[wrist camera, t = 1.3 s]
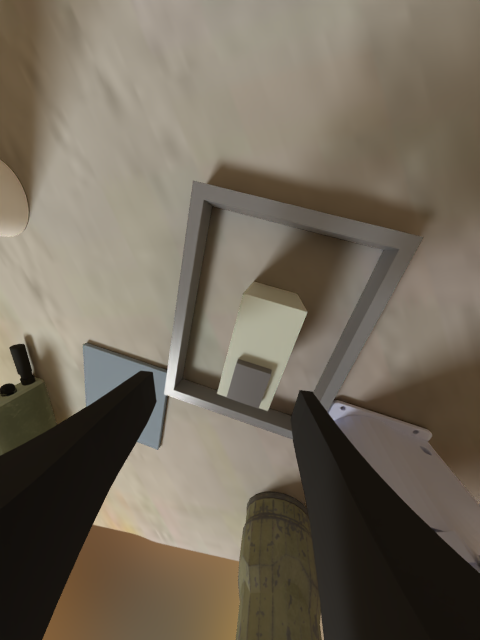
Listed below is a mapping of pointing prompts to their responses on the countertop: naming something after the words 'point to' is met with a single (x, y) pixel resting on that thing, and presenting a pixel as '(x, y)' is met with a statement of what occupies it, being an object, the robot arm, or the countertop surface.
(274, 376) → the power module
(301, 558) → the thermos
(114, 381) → the rubber mat
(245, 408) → the gray rectangular frame
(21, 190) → the cylindrical container
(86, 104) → the countertop surface
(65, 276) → the countertop surface
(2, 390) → the handheld radio
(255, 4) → the countertop surface
